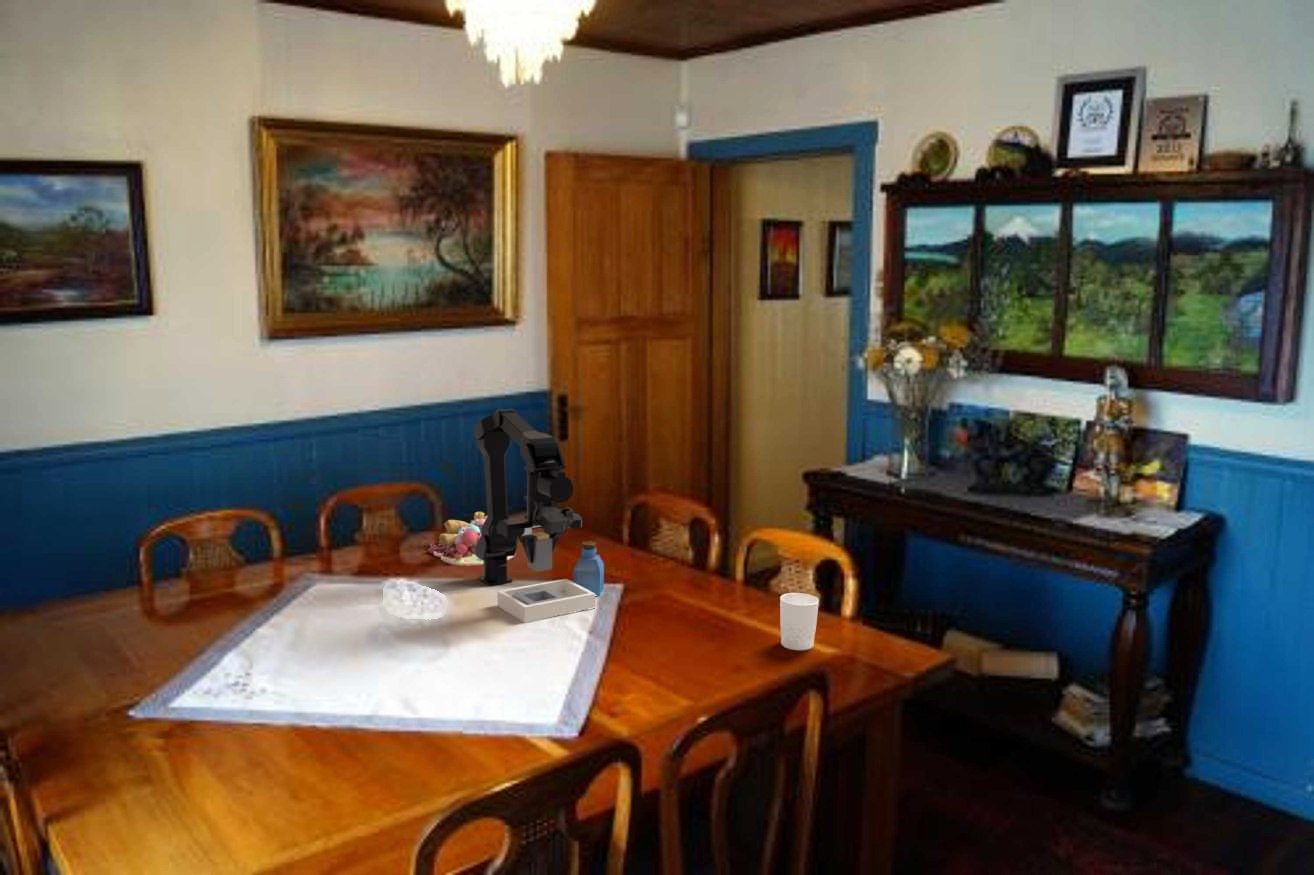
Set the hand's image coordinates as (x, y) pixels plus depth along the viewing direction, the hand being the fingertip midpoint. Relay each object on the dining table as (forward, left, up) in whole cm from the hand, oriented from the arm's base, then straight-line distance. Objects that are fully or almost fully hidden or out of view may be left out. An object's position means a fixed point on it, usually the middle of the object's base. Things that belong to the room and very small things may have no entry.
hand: (539, 561), depth 235 cm
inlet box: (0, +2, -11) cm, 11 cm away
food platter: (-50, +8, -12) cm, 52 cm away
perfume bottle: (-5, +16, -12) cm, 20 cm away
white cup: (+47, +35, -11) cm, 60 cm away
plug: (0, 0, -2) cm, 2 cm away
